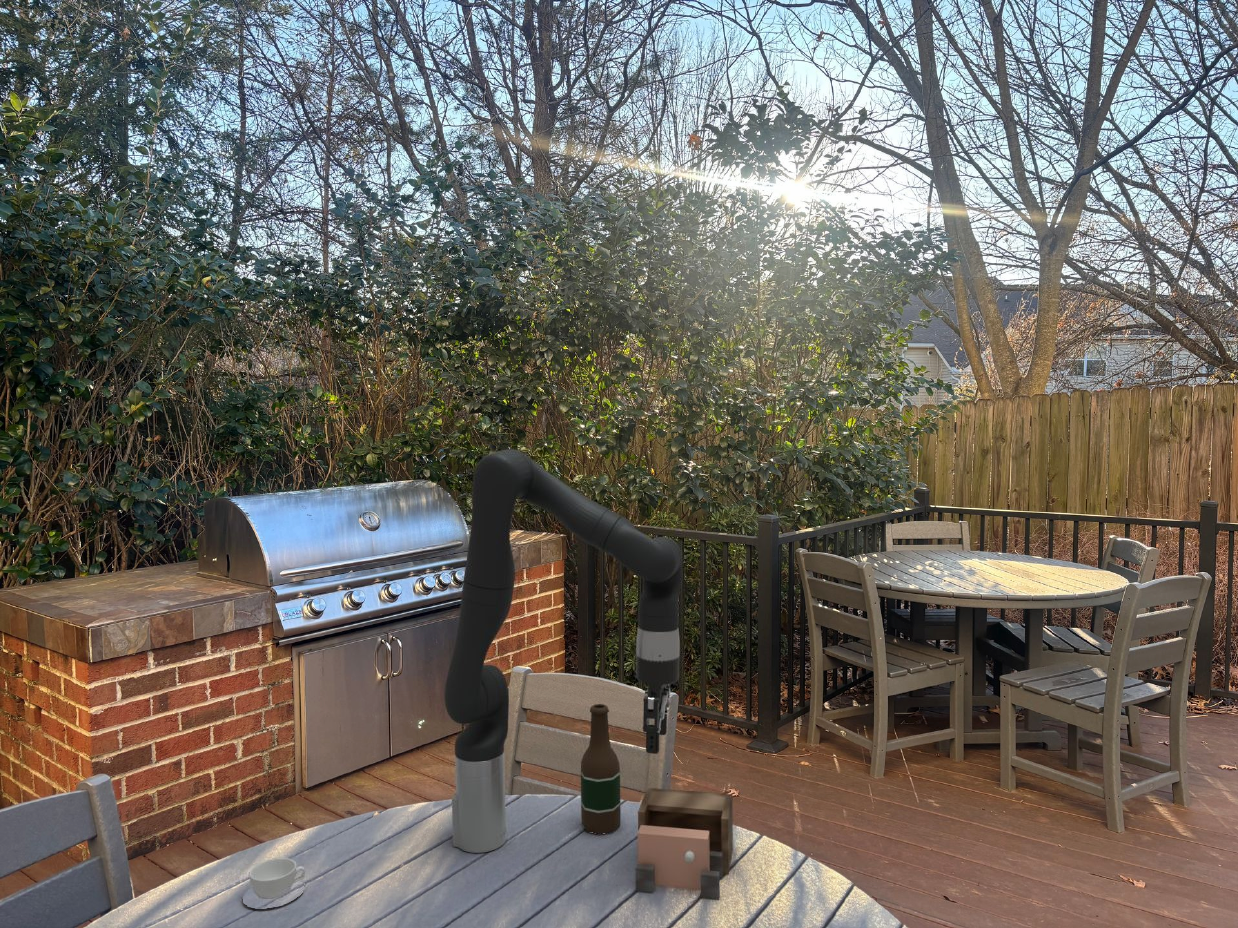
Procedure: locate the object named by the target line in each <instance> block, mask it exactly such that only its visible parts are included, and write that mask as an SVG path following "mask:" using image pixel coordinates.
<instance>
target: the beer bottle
mask: <svg viewBox="0 0 1238 928" xmlns="http://www.w3.org/2000/svg"><path fill="white" fill-rule="evenodd" d="M589 712H590V714H591V715H590V732H589V733H590V735H589V743H588V744H589V745H588V746H587V749H586V750H585V752H584V754H583V755H582V758H581V761H580V813H581V814H580V815H581V817H580V818H581V824H582V827H583V826H584V827H583V828H584V830H585V832H586V831H588V832H587V833H589V832H593V833H596V834H595V835H597V834H603V833H609V834H611V833H610V832H613V831H614V832H615V831H616V830H617V829H619V827H620V826H621V817H622V816H621V815H622V814H621V813H622V812H621V770H620V769H621V768H620V760H619V758H618V757H617V753H616V752H615V751H614V749H613V748H612V744H611V740H610V729H609V717H608V713H610V710H609V707H608V706H607V705H606V704H603V703H597V704H596V703H595V704H593V705H591V706H590V709H589ZM614 832H613V833H614ZM593 833H592V834H593ZM603 835H604V834H603Z"/></svg>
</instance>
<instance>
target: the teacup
mask: <svg viewBox="0 0 1238 928" xmlns="http://www.w3.org/2000/svg"><path fill="white" fill-rule="evenodd" d="M300 871H302V874H301V875H300V876H298V877H297V874H298V872H300ZM305 874H306V869H305V867H304V866H301V865H299V866H298V865H297V862H296V861H295V860H293V859H291V858H287V857H276V858H269V859H267V860H264V861H262V862H259V863H258V864H255V865H254V866H253V867H252V868H251V869H250V871H249V880H250V885H251V887H252V889H253V891H254V893H255V894H256V895H257V896H258V897H259V898H262V899H274V898H278V897H281V896H283V895H285V894H286V893H287V892H288V891H289V890H290V889H291V887H292V885H293V884H294V883H296V882H299V881H300V880H302V881H303V878H305ZM296 877H297V878H296ZM295 878H296V879H295ZM304 885H305V886H306V884H305V883H304ZM251 887H250V888H251ZM302 892H303V891H302ZM303 893H304V892H303Z"/></svg>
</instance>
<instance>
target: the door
mask: <svg viewBox="0 0 1238 928" xmlns="http://www.w3.org/2000/svg"><path fill="white" fill-rule="evenodd" d="M637 864H645V865H655V887H663V886H665V887H664V888H673V889H674V888H675V889H683V890H684V889H686V890H695V891H701V870H707V871H710V847H709V831H705V830H693V829H681V828H670V827H658V826H646V825H641V826H640V828H639V831H638V830H637Z"/></svg>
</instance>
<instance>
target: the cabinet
mask: <svg viewBox="0 0 1238 928" xmlns="http://www.w3.org/2000/svg"><path fill="white" fill-rule="evenodd" d="M733 798H734V796H733V793H721V792H710V791H696V790H695V791H693V790H683V789H681V790H679V789H672V788H671V789H667V788H656V787H655V788H654V787H647V788H646V791H645V793H644V796H643V798H642V801H641V803H640V806H639V809H638V811H637V832H638V831H639V828H640V826H641V825H646V826H658V827H670V828H681V829H693V830H705V831H709V847H710V871H707V870H701V890H700V898H701V899H707V900H708V899H709V900H715V901H716V900H717V901H719V900H720V896H721V895H720V889H721V888H720V886H721V884H720V882H721V880H723V877H724V876H729V874H730V869H731V862H732V855H733V848H734V844H733V843H734V842H733V841H734V840H733V839H734V838H733V837H734V835H733V834H734V832H733V830H734V823H733V821H734V820H733V819H734V818H733V815H734V814H733V813H734V812H733V810H734V809H733ZM655 889H656V886H655V865H645V864H638V863H636V866H635V892H636V893H637V892H638V893H647V894H649V893H650V894H654V892H655Z"/></svg>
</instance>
